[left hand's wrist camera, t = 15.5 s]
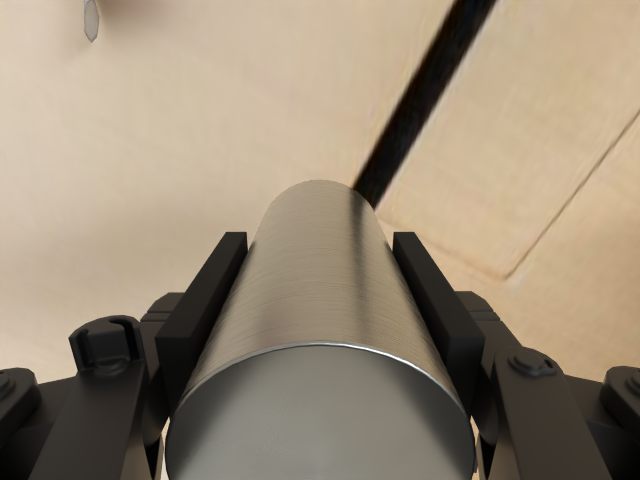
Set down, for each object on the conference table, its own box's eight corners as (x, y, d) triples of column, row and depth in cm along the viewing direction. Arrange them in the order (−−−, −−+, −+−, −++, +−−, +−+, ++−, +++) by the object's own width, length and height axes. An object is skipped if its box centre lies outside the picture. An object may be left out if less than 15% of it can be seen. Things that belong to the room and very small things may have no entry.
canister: (244, 197, 17) (107, 384, 6) (365, 165, 16) (455, 306, 5) (280, 301, 19) (226, 586, 8) (389, 275, 18) (492, 543, 7)
